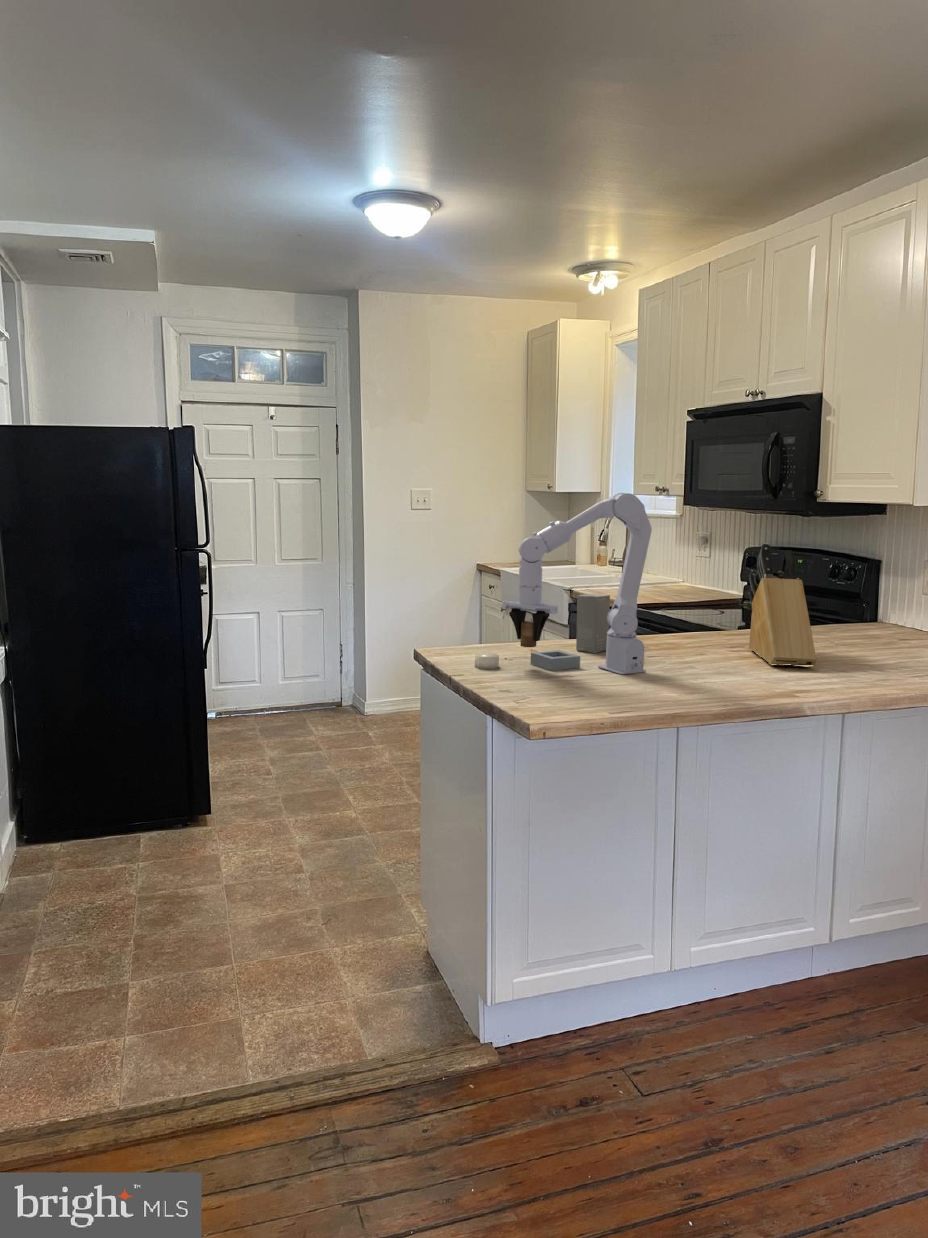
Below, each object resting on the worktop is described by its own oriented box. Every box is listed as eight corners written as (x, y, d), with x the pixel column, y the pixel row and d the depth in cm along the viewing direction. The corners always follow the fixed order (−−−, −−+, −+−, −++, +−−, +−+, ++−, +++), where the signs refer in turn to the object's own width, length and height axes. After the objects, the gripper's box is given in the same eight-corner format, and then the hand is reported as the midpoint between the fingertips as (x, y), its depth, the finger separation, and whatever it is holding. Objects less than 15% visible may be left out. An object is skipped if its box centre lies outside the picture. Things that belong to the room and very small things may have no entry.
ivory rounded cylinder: (503, 668, 225) (503, 656, 225) (484, 670, 222) (484, 658, 221) (489, 663, 230) (489, 651, 230) (470, 665, 227) (470, 654, 226)
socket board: (579, 667, 227) (580, 656, 227) (550, 670, 223) (551, 658, 222) (558, 661, 235) (559, 649, 234) (530, 664, 230) (530, 652, 230)
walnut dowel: (539, 646, 225) (540, 622, 224) (526, 647, 223) (526, 623, 222) (530, 643, 228) (531, 620, 227) (517, 645, 226) (518, 621, 225)
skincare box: (595, 654, 246) (598, 596, 244) (573, 650, 250) (575, 594, 248) (610, 649, 253) (613, 594, 250) (588, 646, 257) (590, 591, 254)
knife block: (779, 646, 265) (788, 541, 260) (816, 671, 230) (827, 551, 225) (741, 645, 266) (748, 540, 261) (771, 669, 231) (781, 549, 226)
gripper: (563, 586, 223) (561, 640, 225) (511, 582, 230) (510, 634, 232) (551, 589, 217) (549, 644, 219) (498, 584, 224) (497, 638, 226)
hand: (528, 639), depth 225 cm, fingers closed on walnut dowel, 4 cm apart
